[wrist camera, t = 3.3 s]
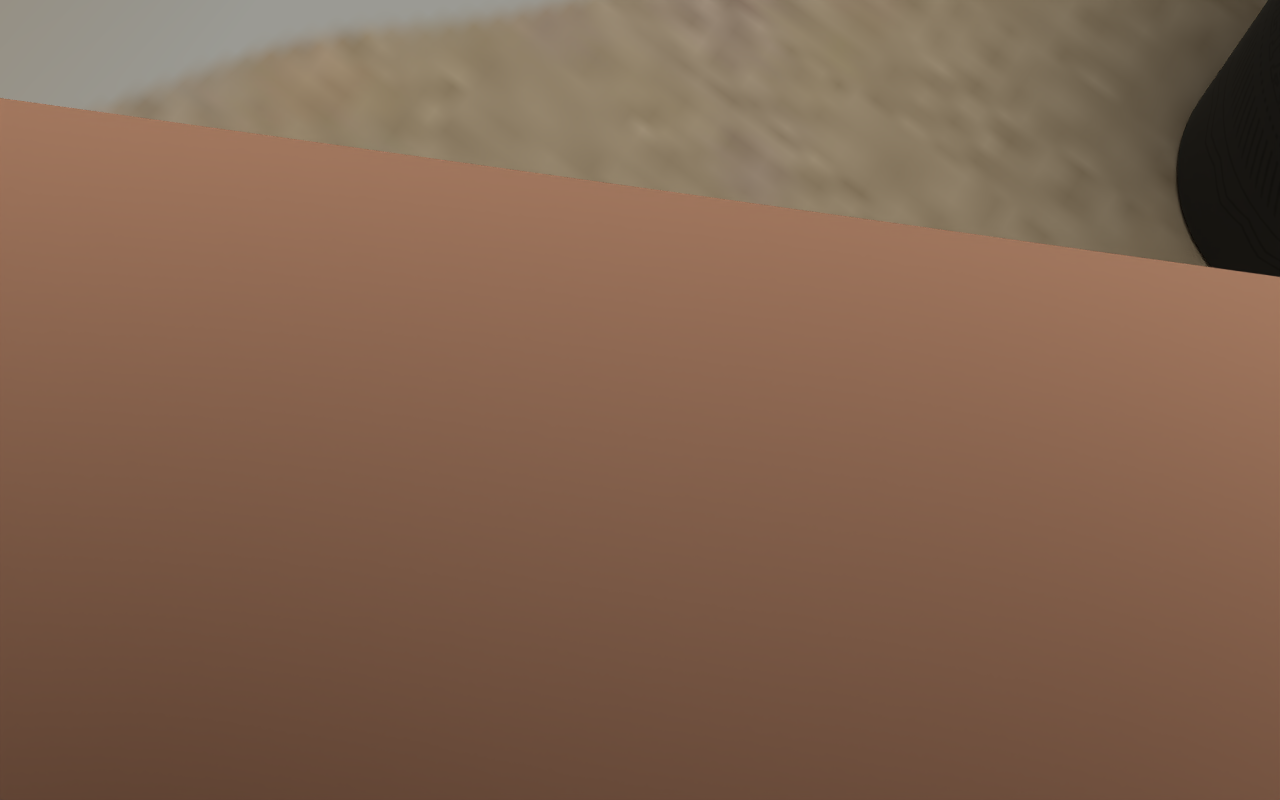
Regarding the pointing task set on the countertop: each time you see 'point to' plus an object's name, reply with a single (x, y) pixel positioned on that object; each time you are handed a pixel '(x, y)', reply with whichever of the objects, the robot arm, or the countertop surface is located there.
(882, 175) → the countertop surface
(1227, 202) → the drinking cup
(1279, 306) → the terracotta pillar
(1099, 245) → the countertop surface
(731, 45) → the countertop surface
